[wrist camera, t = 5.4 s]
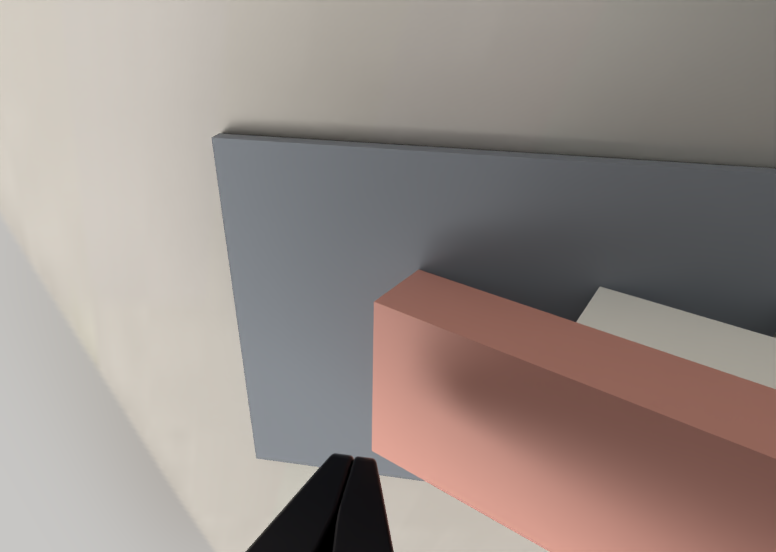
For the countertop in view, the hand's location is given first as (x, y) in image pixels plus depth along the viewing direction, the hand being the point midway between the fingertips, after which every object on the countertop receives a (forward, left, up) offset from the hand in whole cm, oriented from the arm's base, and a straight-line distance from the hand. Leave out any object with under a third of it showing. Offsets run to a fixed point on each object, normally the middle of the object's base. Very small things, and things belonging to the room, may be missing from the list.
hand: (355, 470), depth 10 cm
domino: (0, 0, -3) cm, 3 cm away
